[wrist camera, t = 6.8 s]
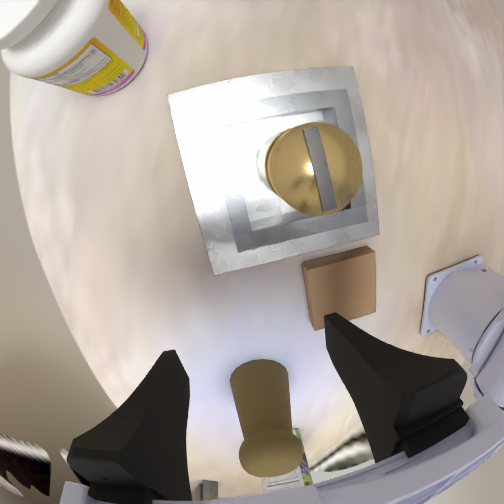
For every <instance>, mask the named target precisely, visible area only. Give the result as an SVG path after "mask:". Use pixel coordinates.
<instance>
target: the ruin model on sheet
mask: <svg viewBox="0 0 504 504" xmlns="http://www.w3.org/2000/svg"><path fill="white" fill-rule="evenodd" d="M191 495H192V500H193V501H207V500H212V499H218V483H217V481H209V480H203V495H202V484H199V486H198V487H197V488H196V489H195V490H194V491H193V493H191Z"/></svg>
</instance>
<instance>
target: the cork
mask: <svg viewBox="0 0 504 504" xmlns="http://www.w3.org/2000/svg"><path fill="white" fill-rule="evenodd" d="M230 383H231V388H232V393H233V397H234V401H235V405H236V409H237V413H238V417H239V421H240V425H241V429H242V433H243V437H244V441H243V443H242V445H241V447H240V451H239V459H240V463H241V465H242V467H243V468H244V470H245V471H246V472H248V473H249V474H251V475H254V476H257V477H277V476H281V475H285V474H287V473H290V472H291V471H293V470H295V469H296V468H298V466H299V465H300V464H301V462H302V460H303V447H302V444H301V442H300V441H299V439H298V438H297V436H296V435H294V434H293V433H292V420H291V406H290V393H289V380H288V373H287V371H286V369H285V367H283V366H282V365H281V364H280V363H277V362H274V361H272V360H263V359H262V360H253V361H250V362H247V363H244V364H242V365H241V366H239V367H238V368H236V370H235V371H234V372H233V373H232V375H231V378H230Z"/></svg>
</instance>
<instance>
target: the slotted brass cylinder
mask: <svg viewBox="0 0 504 504" xmlns="http://www.w3.org/2000/svg"><path fill="white" fill-rule="evenodd" d="M258 170H259V174H260V177H261V179H262V181H263V182H264V184H265V185H266V186H267V187H268V188H269V189H270V190H271V191H272V192H274V193H275V194H276V195H277V196H279V197H280V198H281V199H282V200H283V201H285V202H286V203H287V204H288V205H290V206H291V207H292V208H294V209H295V210H297V211H299V212H301V213H304V214H307V215H311V216H325V215H330V214H333V213H335V212H337V211H339V210H341V209H342V208H344V207H345V206H346V205H347V204H349V203H350V201H351V200H352V199H353V198H354V196H355V195H356V193H357V191H358V189H359V187H360V184H361V180H362V173H363V166H362V159H361V155H360V152H359V150H358V148H357V146H356V144H355V142H354V141H353V140H352V138H351V137H350V136H349V135H348V134H347V133H346V132H344V131H343V130H342V129H340V128H338V127H336V126H334V125H332V124H329V123H324V122H310V123H305V124H302V125H299V126H296V127H293V128H290V129H287V130H284V131H281V132H278V133H276V134H274V135H273V136H271V137H270V138H269V139H268V140H267V141H266V142H265V143H264V145H263V146H262V148H261V150H260V153H259V157H258Z"/></svg>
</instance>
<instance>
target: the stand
mask: <svg viewBox="0 0 504 504" xmlns="http://www.w3.org/2000/svg"><path fill="white" fill-rule="evenodd" d="M302 267H303V274H304V280H305V287H306V294H307V301H308V308H309V315H310V322H311V324H312V326H313V328H314V330H315V331H316V330H320V329H323V328H325V326H324V315H327V314H331V313H334V312H336V313H338V314H339V315H341V316H342V317H344V318H345V319H347V320H348V321H349V320H353V319H356V318H359V317H362V316H365V315H368V314H371V313H374V312H376V261H375V251H373V250H372V249H371V248H369V247H368V246H365V247H361V248H357V249H354V250H350V251H346V252H342V253H338V254H335V255H331V256H327V257H323V258H319V259H315V260H311V261H307V262H303V263H302Z"/></svg>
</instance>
